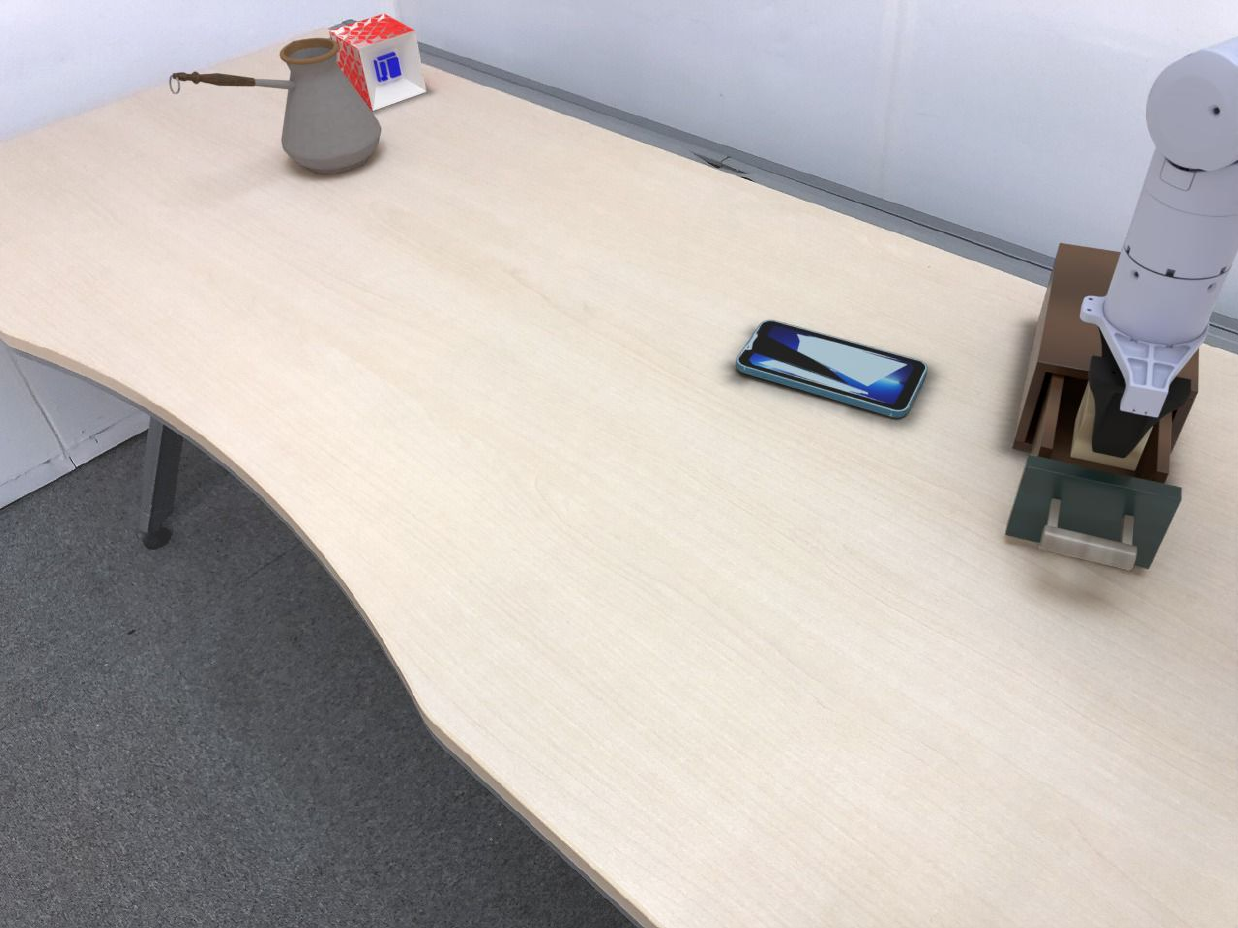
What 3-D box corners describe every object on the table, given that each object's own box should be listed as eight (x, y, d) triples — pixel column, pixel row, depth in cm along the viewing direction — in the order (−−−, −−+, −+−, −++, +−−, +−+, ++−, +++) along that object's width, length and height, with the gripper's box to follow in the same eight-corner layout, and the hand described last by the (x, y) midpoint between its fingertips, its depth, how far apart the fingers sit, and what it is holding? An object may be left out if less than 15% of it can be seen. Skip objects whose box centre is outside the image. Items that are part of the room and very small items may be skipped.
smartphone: (905, 415, 82) (731, 363, 87) (903, 423, 83) (731, 372, 88) (930, 362, 87) (764, 316, 92) (928, 371, 87) (764, 325, 92)
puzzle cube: (396, 74, 137) (384, 13, 132) (426, 92, 133) (415, 30, 127) (343, 92, 134) (328, 31, 129) (372, 111, 129) (357, 49, 124)
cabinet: (1159, 480, 76) (1198, 391, 71) (1011, 448, 80) (1036, 361, 74) (1166, 350, 87) (1200, 264, 81) (1036, 327, 91) (1059, 242, 85)
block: (1137, 432, 70) (1156, 386, 67) (1134, 471, 67) (1153, 425, 64) (1075, 419, 71) (1090, 374, 68) (1069, 457, 68) (1085, 412, 65)
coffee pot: (354, 126, 127) (323, 1, 116) (405, 156, 120) (377, 27, 110) (193, 190, 117) (143, 60, 107) (238, 226, 111) (190, 92, 100)
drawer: (1146, 617, 67) (1180, 548, 62) (995, 579, 69) (1017, 510, 65) (1157, 425, 79) (1186, 355, 75) (1030, 399, 82) (1050, 331, 78)
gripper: (1110, 181, 64) (1058, 353, 74) (1092, 310, 55) (1035, 488, 64) (1235, 198, 62) (1165, 372, 72) (1239, 335, 53) (1157, 515, 62)
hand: (1111, 429), depth 68 cm, fingers closed on block, 4 cm apart
